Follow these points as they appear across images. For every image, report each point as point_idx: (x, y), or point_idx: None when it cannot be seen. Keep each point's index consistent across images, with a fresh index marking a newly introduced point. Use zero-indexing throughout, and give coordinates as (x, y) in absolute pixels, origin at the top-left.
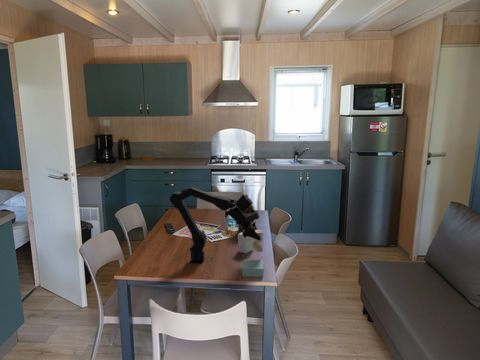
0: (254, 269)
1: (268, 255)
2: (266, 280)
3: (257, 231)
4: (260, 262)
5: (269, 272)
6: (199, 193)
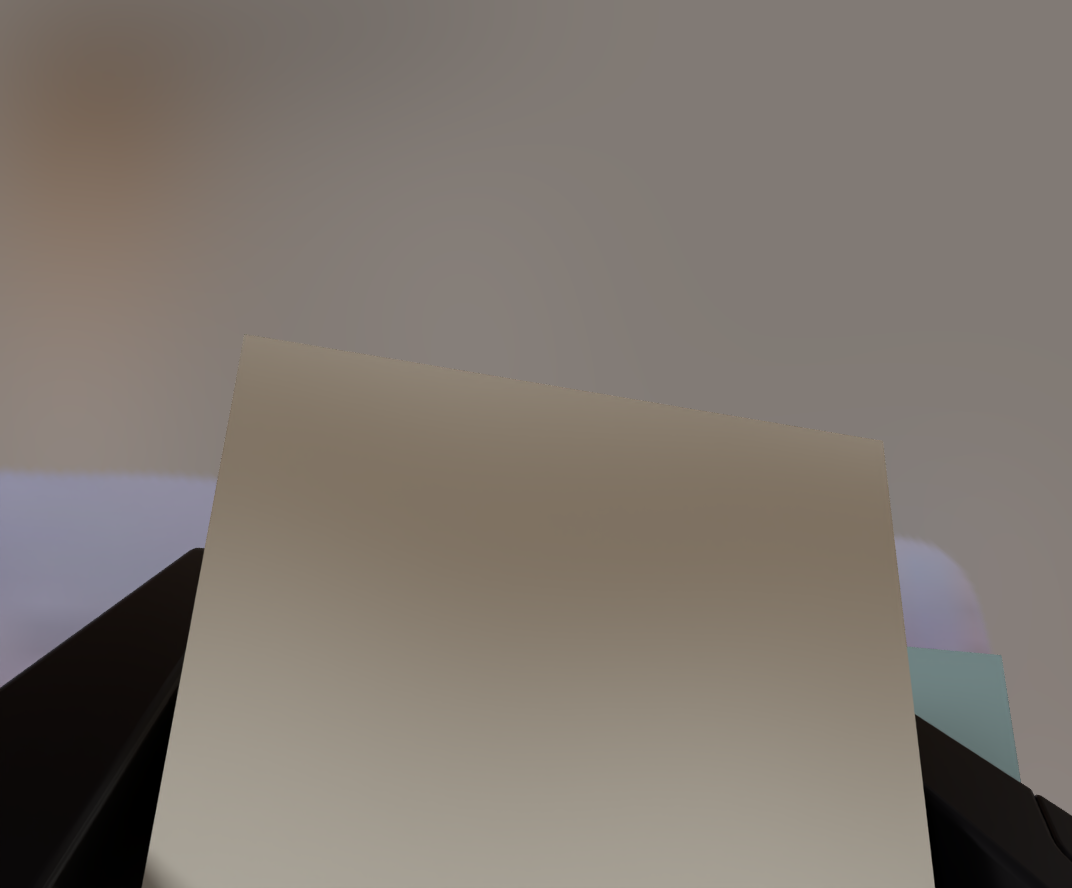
0: None
1: (16, 484)
2: (980, 625)
3: (614, 776)
4: None
5: None
6: None
